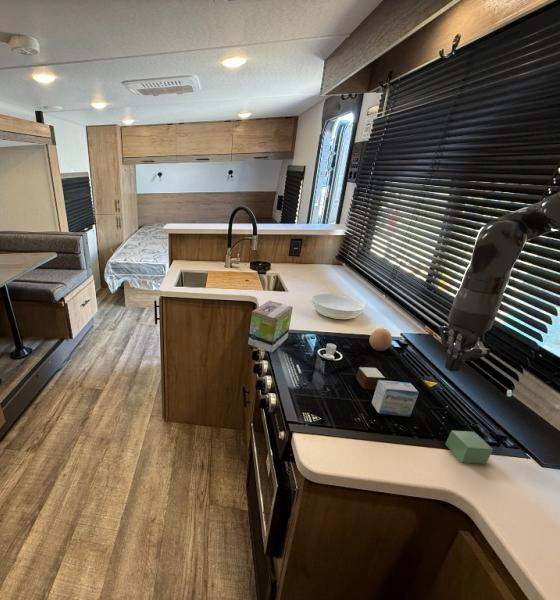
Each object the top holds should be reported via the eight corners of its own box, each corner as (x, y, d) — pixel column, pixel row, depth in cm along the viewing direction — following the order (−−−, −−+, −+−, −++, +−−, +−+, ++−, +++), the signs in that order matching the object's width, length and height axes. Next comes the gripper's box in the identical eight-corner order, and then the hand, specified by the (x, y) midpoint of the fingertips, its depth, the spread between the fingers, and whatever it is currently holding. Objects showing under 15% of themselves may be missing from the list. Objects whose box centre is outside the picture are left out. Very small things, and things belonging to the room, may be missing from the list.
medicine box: (377, 414, 84) (385, 389, 81) (370, 403, 88) (378, 378, 85) (410, 418, 82) (419, 392, 79) (401, 406, 86) (410, 381, 83)
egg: (391, 350, 113) (397, 328, 110) (384, 357, 110) (391, 334, 106) (371, 343, 118) (377, 322, 115) (364, 349, 115) (369, 327, 111)
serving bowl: (361, 328, 130) (365, 314, 127) (307, 318, 140) (310, 305, 137) (360, 311, 146) (364, 297, 143) (312, 303, 156) (314, 290, 153)
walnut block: (372, 381, 97) (375, 367, 96) (380, 391, 93) (385, 377, 91) (355, 380, 98) (358, 367, 96) (363, 390, 93) (367, 376, 91)
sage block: (466, 447, 73) (474, 431, 72) (484, 465, 69) (493, 449, 67) (444, 446, 74) (451, 430, 72) (460, 464, 69) (468, 447, 67)
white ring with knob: (330, 364, 106) (332, 354, 105) (311, 353, 113) (313, 343, 111) (347, 357, 110) (349, 348, 108) (327, 347, 116) (329, 338, 115)
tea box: (272, 354, 113) (277, 318, 107) (247, 345, 119) (250, 310, 114) (288, 339, 123) (293, 305, 117) (264, 331, 129) (268, 299, 124)
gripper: (520, 319, 65) (490, 386, 71) (469, 296, 77) (448, 356, 83) (480, 318, 66) (454, 385, 72) (436, 296, 78) (417, 355, 84)
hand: (451, 369), depth 78 cm, fingers closed
